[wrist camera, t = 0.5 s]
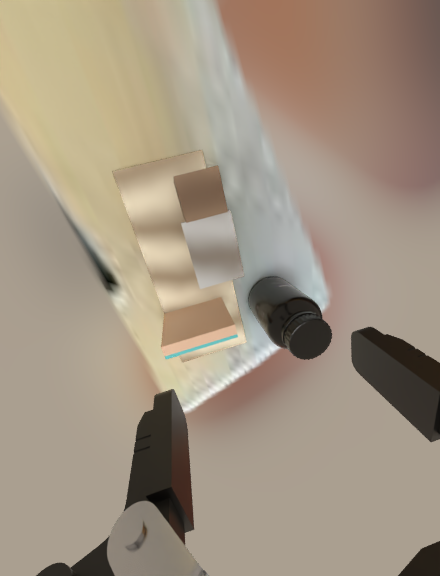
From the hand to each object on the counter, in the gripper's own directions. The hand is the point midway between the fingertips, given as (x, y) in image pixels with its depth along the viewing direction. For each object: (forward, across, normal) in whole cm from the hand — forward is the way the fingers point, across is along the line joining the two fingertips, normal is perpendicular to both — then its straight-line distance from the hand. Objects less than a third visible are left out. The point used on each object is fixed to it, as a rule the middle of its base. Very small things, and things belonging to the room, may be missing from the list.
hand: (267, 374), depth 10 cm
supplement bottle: (+23, -8, +9) cm, 26 cm away
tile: (+22, +3, +7) cm, 23 cm away
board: (+23, +2, +1) cm, 23 cm away
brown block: (+22, -1, -4) cm, 22 cm away
